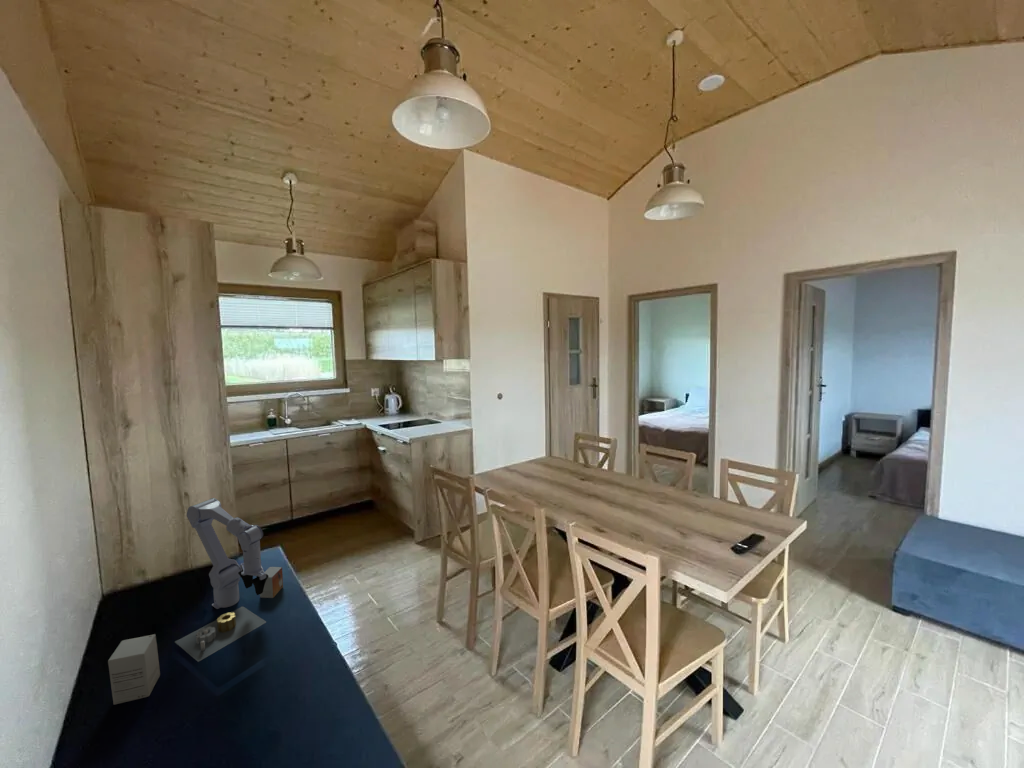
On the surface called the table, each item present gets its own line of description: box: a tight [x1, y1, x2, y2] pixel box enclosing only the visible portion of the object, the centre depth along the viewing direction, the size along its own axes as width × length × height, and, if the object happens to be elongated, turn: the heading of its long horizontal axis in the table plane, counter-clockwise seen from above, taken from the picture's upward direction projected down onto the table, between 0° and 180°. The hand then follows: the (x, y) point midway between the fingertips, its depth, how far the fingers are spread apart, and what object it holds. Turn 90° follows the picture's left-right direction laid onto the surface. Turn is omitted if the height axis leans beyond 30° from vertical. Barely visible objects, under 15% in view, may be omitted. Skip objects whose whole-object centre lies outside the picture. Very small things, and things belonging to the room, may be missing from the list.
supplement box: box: [107, 633, 161, 705], centre depth 133 cm, size 9×9×15 cm
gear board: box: [174, 605, 267, 663], centre depth 157 cm, size 17×23×4 cm
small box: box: [259, 566, 284, 599], centre depth 180 cm, size 8×6×10 cm
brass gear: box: [216, 611, 236, 633], centre depth 159 cm, size 6×6×4 cm
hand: (254, 590), depth 168 cm, fingers open, 7 cm apart
